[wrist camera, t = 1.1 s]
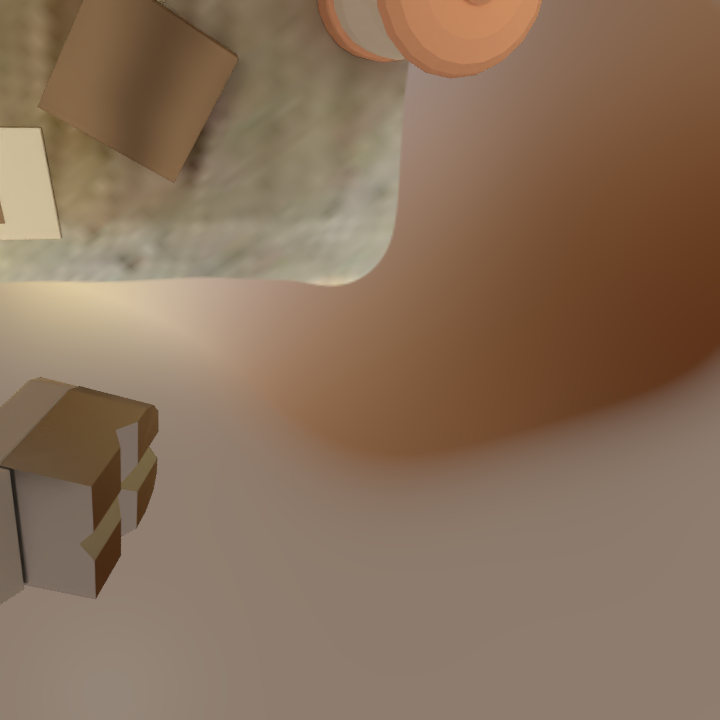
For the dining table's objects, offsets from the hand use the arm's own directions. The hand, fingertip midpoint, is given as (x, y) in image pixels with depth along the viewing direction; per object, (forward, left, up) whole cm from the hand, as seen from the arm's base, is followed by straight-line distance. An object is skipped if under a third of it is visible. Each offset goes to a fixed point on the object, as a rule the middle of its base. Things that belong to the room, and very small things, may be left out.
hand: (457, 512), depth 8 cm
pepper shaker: (+2, +10, -39) cm, 40 cm away
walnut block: (-7, -2, -39) cm, 40 cm away
